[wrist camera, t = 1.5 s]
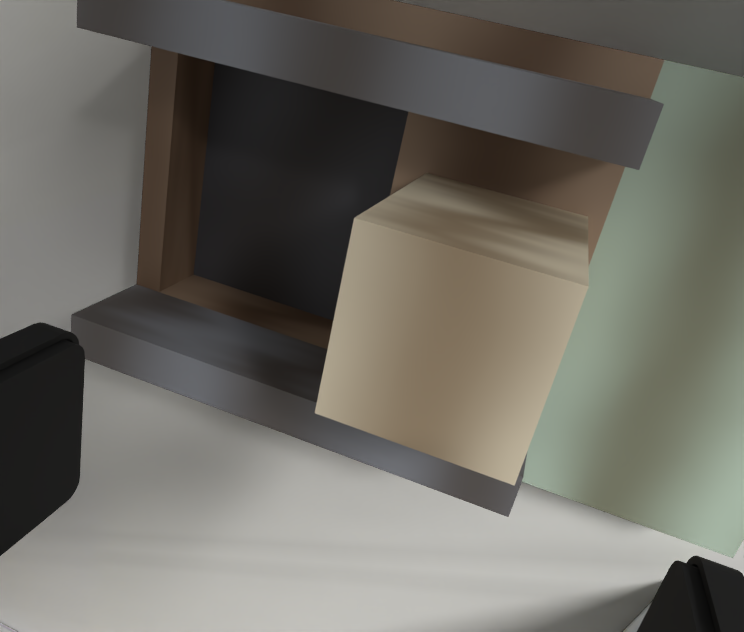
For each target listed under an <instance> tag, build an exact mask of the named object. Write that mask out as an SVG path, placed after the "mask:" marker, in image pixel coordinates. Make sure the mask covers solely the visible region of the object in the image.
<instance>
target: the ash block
mask: <svg viewBox="0 0 744 632" xmlns="http://www.w3.org/2000/svg"><path fill="white" fill-rule="evenodd" d="M588 287H589V262H588V217H587V216H584V215H580V214H576V213H573V212H569V211H565V210H561V209H558V208H554V207H550V206H547V205H543V204H539V203H536V202H532V201H528V200H525V199H521V198H517V197H514V196H510V195H506V194H503V193H499V192H495V191H492V190H488V189H484V188H481V187H477V186H473V185H470V184H466V183H462V182H459V181H455V180H451V179H448V178H444V177H440V176H437V175H433V174H429V173H426V174H424V175H423V176H421V177H420V178H418V179H416V180H415V181H413V182H411V183H410V184H408V185H407V186H405V187H403V188H402V189H400V190H399V191H397V192H395V193H394V194H392V195H390V196H389V197H387V198H386V199H384V200H382V201H381V202H379V203H377V204H376V205H374V206H373V207H371V208H369V209H368V210H366V211H364V212H363V213H361V214H360V215H358V216H356V217H355V218H354V221H353V226H352V231H351V236H350V241H349V246H348V251H347V256H346V261H345V266H344V271H343V276H342V280H341V285H340V290H339V295H338V300H337V305H336V310H335V315H334V320H333V325H332V330H331V335H330V340H329V345H328V350H327V355H326V360H325V364H324V369H323V374H322V379H321V384H320V389H319V394H318V399H317V404H316V409H315V413H316V414H319V415H321V416H324V417H327V418H330V419H332V420H335V421H338V422H341V423H343V424H346V425H349V426H352V427H354V428H357V429H360V430H363V431H365V432H368V433H371V434H374V435H376V436H379V437H382V438H385V439H387V440H390V441H393V442H396V443H398V444H401V445H404V446H407V447H409V448H412V449H415V450H418V451H420V452H423V453H426V454H429V455H431V456H434V457H437V458H440V459H442V460H445V461H448V462H451V463H453V464H456V465H459V466H462V467H464V468H467V469H470V470H473V471H475V472H478V473H481V474H484V475H486V476H489V477H492V478H495V479H498V480H500V481H503V482H506V483H509V484H511V485H514V486H515V483H516V480H517V478H518V475H519V472H520V470H521V467H522V464H523V462H524V459H525V456H526V454H527V451H528V448H529V445H530V443H531V440H532V437H533V435H534V432H535V429H536V427H537V424H538V421H539V419H540V416H541V413H542V411H543V408H544V405H545V403H546V400H547V397H548V395H549V392H550V389H551V386H552V384H553V381H554V378H555V376H556V373H557V370H558V368H559V365H560V362H561V360H562V357H563V354H564V352H565V349H566V346H567V344H568V341H569V338H570V336H571V333H572V330H573V327H574V325H575V322H576V319H577V317H578V314H579V311H580V309H581V306H582V303H583V301H584V298H585V295H586V293H587V290H588Z"/></svg>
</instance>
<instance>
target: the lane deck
mask: <svg viewBox="0 0 744 632" xmlns="http://www.w3.org/2000/svg"><path fill="white" fill-rule="evenodd" d="M77 27H78V28H82V29H86V30H90V31H94V32H97V33H101V34H105V35H109V36H113V37H117V38H121V39H125V40H129V41H133V42H137V43H141V44H145V45H149V46H152V47H151V63H150V79H149V95H148V111H147V127H146V143H145V159H144V175H143V191H142V207H141V223H140V239H139V255H138V271H137V284H136V285H134V286H132V287H130V288H128V289H126V290H123V291H121V292H119V293H117V294H115V295H113V296H111V297H108V298H106V299H104V300H102V301H100V302H98V303H96V304H93V305H91V306H89V307H87V308H85V309H83V310H81V311H78V312H76V313H74V314H72V318H71V333H73V334H74V335H76V336H77V338H78V340H79V345H80V346H82V347H83V349H84V352H85V359H87V360H90V361H92V362H95V363H98V364H100V365H103V366H106V367H108V368H111V369H114V370H116V371H119V372H122V373H124V374H127V375H130V376H132V377H135V378H138V379H140V380H143V381H146V382H148V383H151V384H154V385H156V386H159V387H162V388H164V389H167V390H170V391H172V392H175V393H178V394H180V395H183V396H186V397H188V398H191V399H194V400H197V401H199V402H202V403H205V404H207V405H210V406H213V407H215V408H218V409H221V410H223V411H226V412H229V413H231V414H234V415H237V416H239V417H242V418H245V419H247V420H250V421H253V422H255V423H258V424H261V425H263V426H266V427H269V428H271V429H274V430H277V431H279V432H282V433H285V434H287V435H290V436H293V437H295V438H298V439H301V440H304V441H306V442H309V443H312V444H314V445H317V446H320V447H322V448H325V449H328V450H330V451H333V452H336V453H338V454H341V455H344V456H346V457H349V458H352V459H354V460H357V461H360V462H362V463H365V464H368V465H370V466H373V467H376V468H378V469H381V470H384V471H386V472H389V473H392V474H394V475H397V476H400V477H402V478H405V479H408V480H411V481H413V482H416V483H419V484H421V485H424V486H427V487H429V488H432V489H435V490H437V491H440V492H443V493H445V494H448V495H451V496H453V497H456V498H459V499H461V500H464V501H467V502H469V503H472V504H475V505H477V506H480V507H483V508H485V509H488V510H491V511H493V512H496V513H499V514H501V515H504V516H507V517H508V516H509V514H510V511H511V509H512V506H513V503H514V501H515V498H516V495H517V493H518V490H519V487H520V485H521V482H524V483H527V484H529V485H532V486H535V487H538V488H540V489H543V490H546V491H549V492H551V493H554V494H557V495H560V496H563V497H565V498H568V499H571V500H574V501H576V502H579V503H582V504H585V505H587V506H590V507H593V508H596V509H599V510H601V511H604V512H607V513H610V514H612V515H615V516H618V517H621V518H623V519H626V520H629V521H632V522H635V523H637V524H640V525H643V526H646V527H648V528H651V529H654V530H657V531H659V532H662V533H665V534H668V535H671V536H673V537H676V538H679V539H682V540H684V541H687V542H690V543H693V544H695V545H698V546H701V547H704V548H707V549H709V550H712V551H715V552H718V553H720V554H723V555H726V556H729V557H731V558H733V557H734V555H735V554H736V552H737V550H738V548H739V547H740V545H741V543H742V541H743V540H744V77H740V76H736V75H731V74H727V73H722V72H718V71H713V70H708V69H704V68H699V67H695V66H690V65H686V64H681V63H677V62H672V61H667V60H663V59H658V58H654V57H649V56H645V55H640V54H636V53H631V52H626V51H622V50H617V49H613V48H608V47H604V46H599V45H594V44H590V43H585V42H581V41H576V40H572V39H567V38H563V37H558V36H553V35H549V34H544V33H540V32H535V31H531V30H526V29H521V28H517V27H512V26H508V25H503V24H499V23H494V22H490V21H485V20H480V19H476V18H471V17H467V16H462V15H458V14H453V13H448V12H444V11H439V10H435V9H430V8H426V7H421V6H417V5H412V4H407V3H403V2H398V1H394V0H77ZM426 173H429V174H433V175H437V176H440V177H444V178H448V179H451V180H455V181H459V182H462V183H466V184H470V185H473V186H477V187H481V188H484V189H488V190H492V191H495V192H499V193H503V194H506V195H510V196H514V197H517V198H521V199H525V200H528V201H532V202H536V203H539V204H543V205H547V206H550V207H554V208H558V209H561V210H565V211H569V212H573V213H576V214H580V215H584V216H587V217H588V262H589V287H588V290H587V293H586V295H585V298H584V301H583V303H582V306H581V309H580V311H579V314H578V317H577V319H576V322H575V325H574V327H573V330H572V333H571V336H570V338H569V341H568V344H567V346H566V349H565V352H564V354H563V357H562V360H561V362H560V365H559V368H558V370H557V373H556V376H555V378H554V381H553V384H552V386H551V389H550V392H549V395H548V397H547V400H546V403H545V405H544V408H543V411H542V413H541V416H540V419H539V421H538V424H537V427H536V429H535V432H534V435H533V437H532V440H531V443H530V445H529V448H528V451H527V454H526V456H525V459H524V462H523V464H522V467H521V470H520V472H519V475H518V478H517V480H516V483H515V486H514V485H511V484H509V483H506V482H503V481H500V480H498V479H495V478H492V477H489V476H486V475H484V474H481V473H478V472H475V471H473V470H470V469H467V468H464V467H462V466H459V465H456V464H453V463H451V462H448V461H445V460H442V459H440V458H437V457H434V456H431V455H429V454H426V453H423V452H420V451H418V450H415V449H412V448H409V447H407V446H404V445H401V444H398V443H396V442H393V441H390V440H387V439H385V438H382V437H379V436H376V435H374V434H371V433H368V432H365V431H363V430H360V429H357V428H354V427H352V426H349V425H346V424H343V423H341V422H338V421H335V420H332V419H330V418H327V417H324V416H321V415H319V414H316V413H315V409H316V404H317V399H318V394H319V389H320V384H321V379H322V374H323V369H324V364H325V360H326V355H327V350H328V345H329V340H330V335H331V330H332V325H333V320H334V315H335V310H336V305H337V300H338V295H339V290H340V285H341V280H342V276H343V271H344V266H345V261H346V256H347V251H348V246H349V241H350V236H351V231H352V226H353V221H354V218H355V217H356V216H358V215H360V214H361V213H363V212H364V211H366V210H368V209H369V208H371V207H373V206H374V205H376V204H377V203H379V202H381V201H382V200H384V199H386V198H387V197H389V196H390V195H392V194H394V193H395V192H397V191H399V190H400V189H402V188H403V187H405V186H407V185H408V184H410V183H411V182H413V181H415V180H416V179H418V178H420V177H421V176H423V175H424V174H426Z"/></svg>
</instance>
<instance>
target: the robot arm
mask: <svg viewBox="0 0 744 632" xmlns="http://www.w3.org/2000/svg"><path fill="white" fill-rule="evenodd" d="M84 365H85V352H84V349H83V347H82V346H80V345H79V340H78V338H77V336H76V335H74V334H73V333H71V332H68V331H65V330H63V329H60V328H57V327H54V326H51V325H49V324H46V323H36V324H33V325H31V326H28V327H26V328H24V329H22V330H19V331H17V332H15V333H13V334H10V335H8V336H6V337H3V338H1V339H0V556H1V555H2V554H3V553H5V552H6V551H7V550H8V549H9V548H11V547H12V546H13V545H14V544H15V543H17V542H18V541H19V540H20V539H22V538H23V537H24V536H25V535H26V534H28V533H29V532H30V531H31V530H33V529H34V528H35V527H36V526H37V525H39V524H40V523H41V522H42V521H44V520H45V519H46V518H47V517H48V516H50V515H51V514H52V513H53V512H55V511H56V510H57V509H58V508H59V507H61V506H62V505H63V504H64V503H65V502H67V501H68V500H69V499H70V498H71V496H72V495H73V494H74V492H75V490H76V488H77V486H78V483H79V478H80V458H81V435H82V412H83V388H84ZM637 632H744V576H743V574H742V573H741V572H740V571H738V570H735V569H733V568H730V567H727V566H724V565H721V564H719V563H716V562H713V561H710V560H707V559H705V558H702V557H699V556H693V557H691V558H690V559H689V560H688V562H687V563H684V562H681V561H675V562H674V563H673V564H672V565H671V567H670V568H669V570H668V572H667V574H666V576H665V578H664V580H663V582H662V584H661V586H660V588H659V590H658V591H657V593H656V595H655V597H654V599H653V601H652V603H651V605H650V607H649V609H648V611H647V613H646V615H645V617H644V618H643V620H642V622H641V624H640V626H639V628H638V630H637Z"/></svg>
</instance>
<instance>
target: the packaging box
mask: <svg viewBox="0 0 744 632" xmlns="http://www.w3.org/2000/svg"><path fill="white" fill-rule="evenodd" d="M0 632H17V631H15V630H14V629H12V628H10V627H8V626H6V625H4V624H2V623H0Z"/></svg>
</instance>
